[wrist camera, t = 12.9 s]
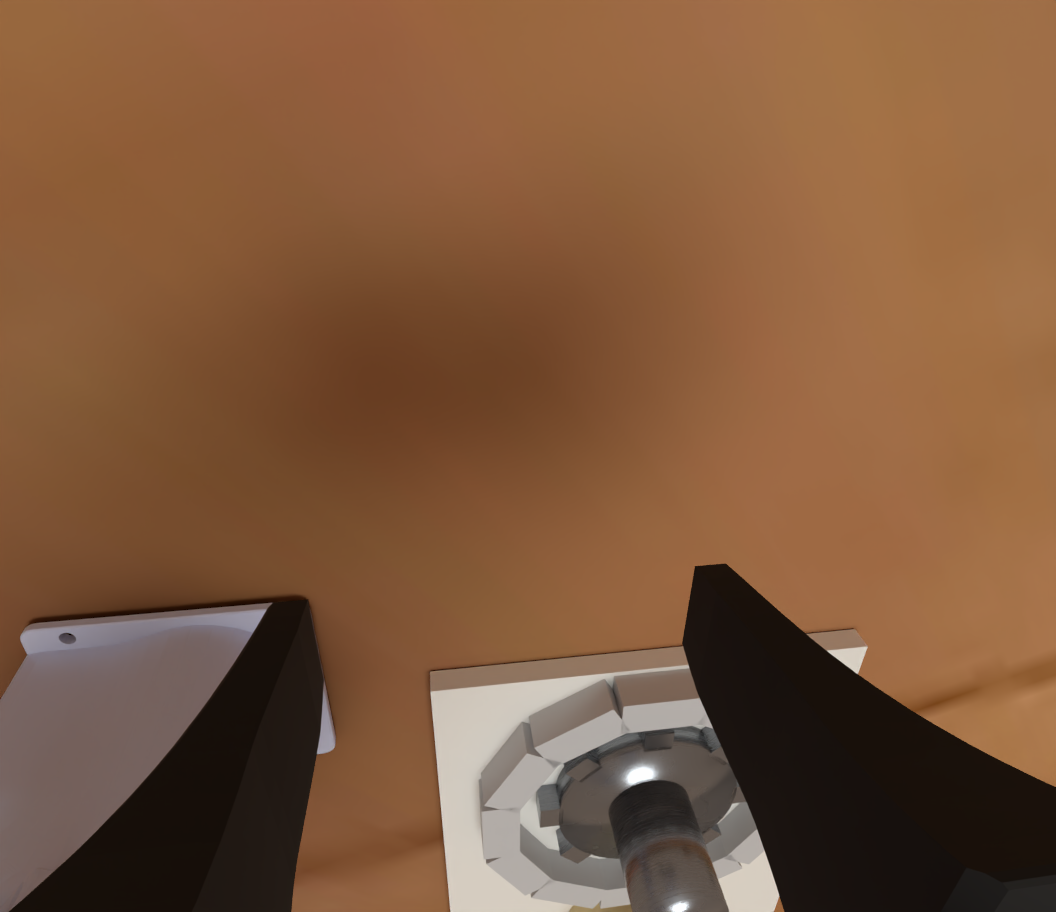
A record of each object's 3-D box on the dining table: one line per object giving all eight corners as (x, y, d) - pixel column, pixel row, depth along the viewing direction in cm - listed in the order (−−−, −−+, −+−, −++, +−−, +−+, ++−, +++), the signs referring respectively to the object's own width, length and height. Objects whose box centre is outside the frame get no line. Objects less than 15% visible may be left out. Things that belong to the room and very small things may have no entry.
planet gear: (534, 855, 35) (555, 1000, 29) (538, 722, 30) (564, 869, 24) (726, 830, 36) (778, 965, 31) (761, 698, 31) (830, 833, 26)
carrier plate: (455, 957, 41) (459, 1042, 37) (429, 671, 29) (432, 759, 25) (760, 911, 43) (790, 988, 39) (854, 629, 31) (909, 705, 27)
